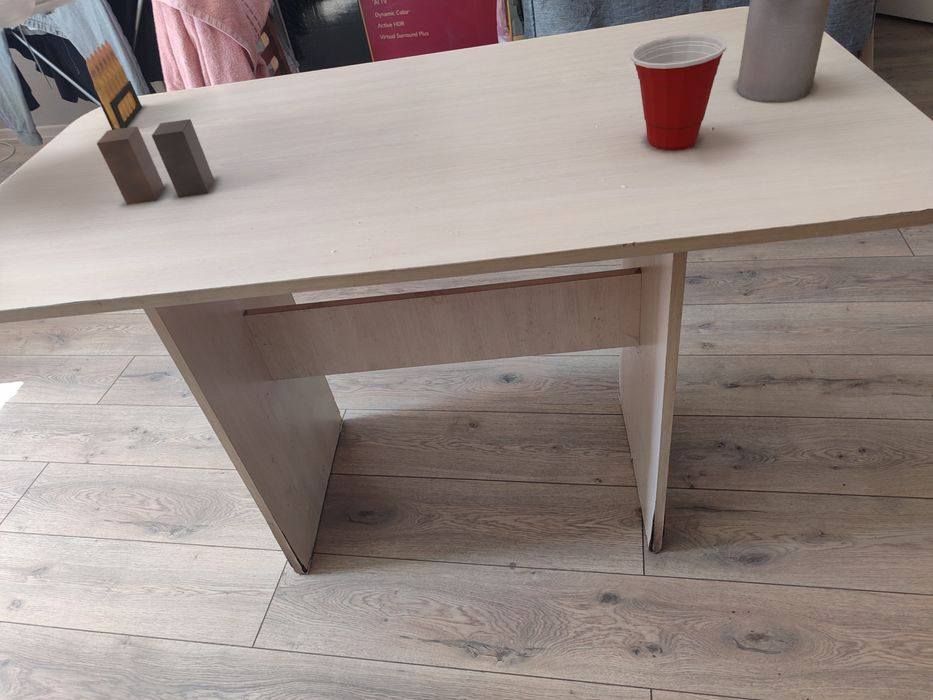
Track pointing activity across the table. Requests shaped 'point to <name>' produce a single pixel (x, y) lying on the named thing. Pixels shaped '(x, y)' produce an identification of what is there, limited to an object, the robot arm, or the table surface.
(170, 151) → the dark gray block
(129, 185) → the walnut block
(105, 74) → the ammunition clip
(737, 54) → the table surface
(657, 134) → the plastic cup
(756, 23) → the pillar candle
